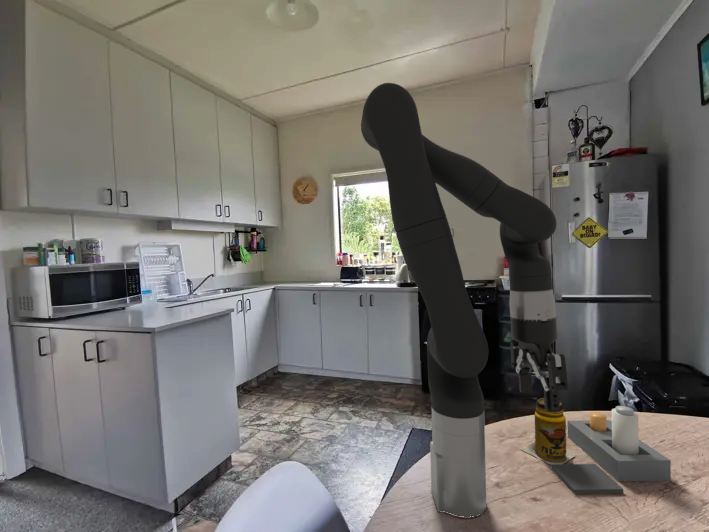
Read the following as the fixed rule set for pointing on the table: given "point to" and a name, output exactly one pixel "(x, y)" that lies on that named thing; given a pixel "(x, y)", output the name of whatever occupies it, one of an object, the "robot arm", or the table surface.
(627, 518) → the table surface
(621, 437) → the cylinder
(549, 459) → the condiment
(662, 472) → the block
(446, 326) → the robot arm
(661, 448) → the table surface
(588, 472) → the mat
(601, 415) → the plunger
